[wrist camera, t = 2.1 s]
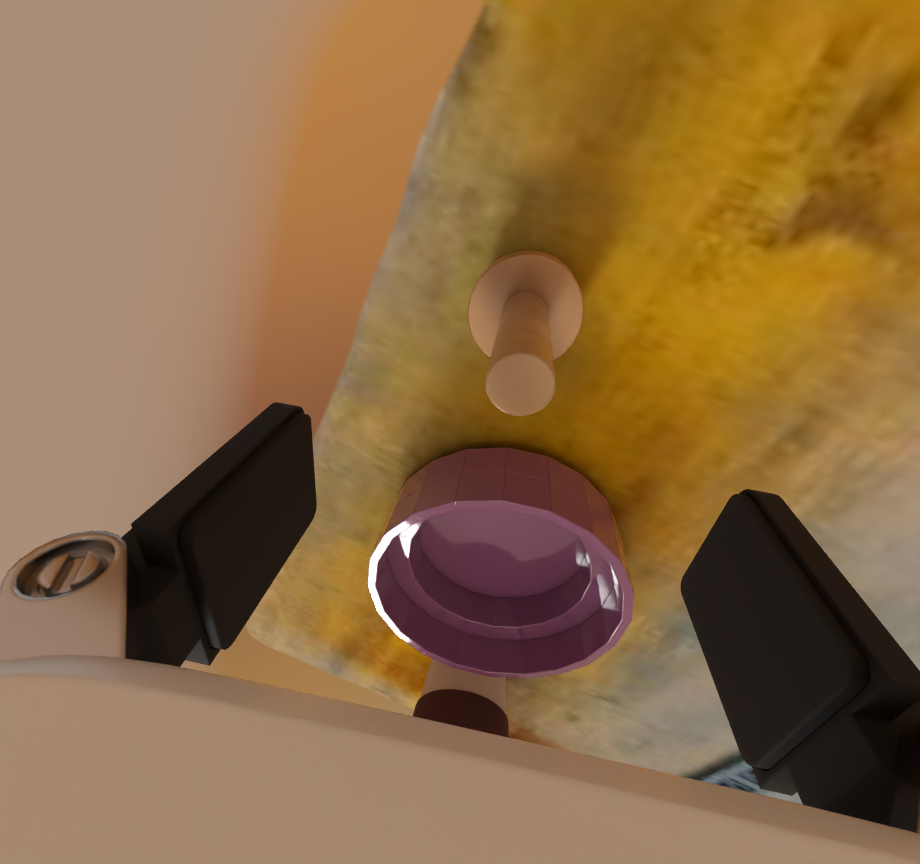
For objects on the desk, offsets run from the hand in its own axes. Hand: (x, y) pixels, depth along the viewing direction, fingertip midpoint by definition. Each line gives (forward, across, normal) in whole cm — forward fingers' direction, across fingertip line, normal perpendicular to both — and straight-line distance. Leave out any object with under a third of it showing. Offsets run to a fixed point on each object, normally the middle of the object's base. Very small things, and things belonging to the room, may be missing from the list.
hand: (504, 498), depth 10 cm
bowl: (+16, -2, +16) cm, 23 cm away
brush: (+16, 0, -1) cm, 16 cm away
